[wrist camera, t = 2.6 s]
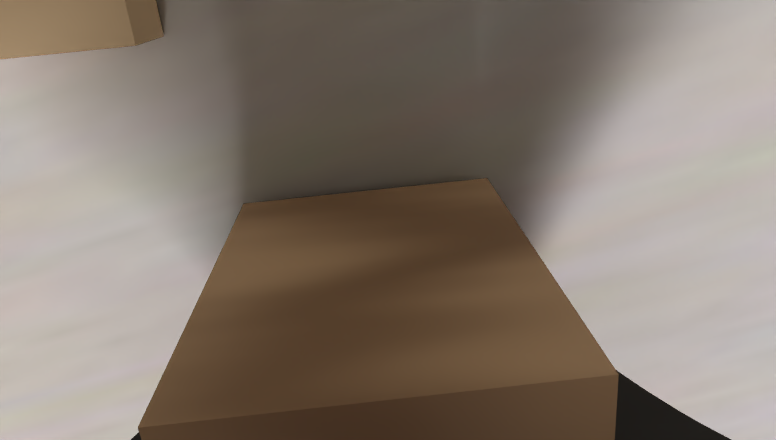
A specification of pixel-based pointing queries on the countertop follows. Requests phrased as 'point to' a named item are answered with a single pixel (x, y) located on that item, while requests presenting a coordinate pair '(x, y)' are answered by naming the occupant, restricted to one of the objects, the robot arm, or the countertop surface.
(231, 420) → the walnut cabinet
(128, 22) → the wall board
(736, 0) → the countertop surface
